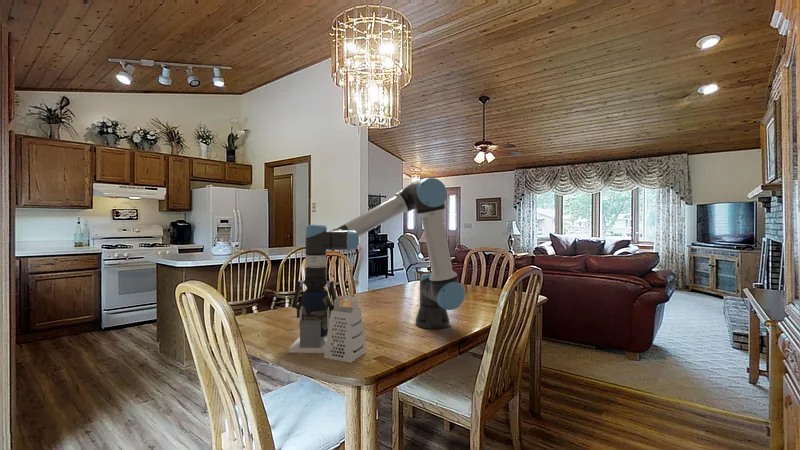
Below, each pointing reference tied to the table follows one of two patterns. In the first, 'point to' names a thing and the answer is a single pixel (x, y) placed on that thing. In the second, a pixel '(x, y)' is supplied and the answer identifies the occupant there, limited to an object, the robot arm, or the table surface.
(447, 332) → the table surface
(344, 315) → the grater
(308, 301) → the canister
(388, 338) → the table surface
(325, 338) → the napkin holder
